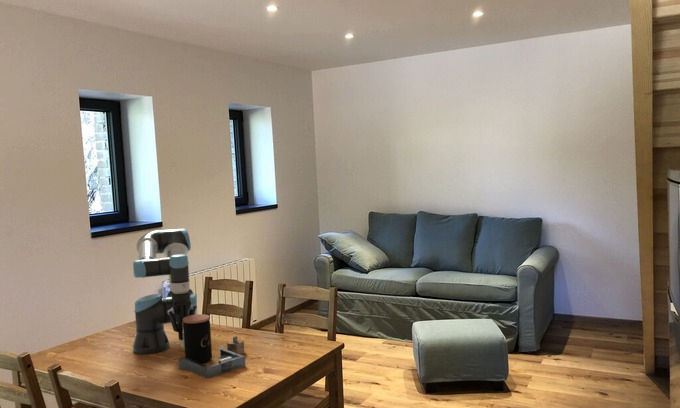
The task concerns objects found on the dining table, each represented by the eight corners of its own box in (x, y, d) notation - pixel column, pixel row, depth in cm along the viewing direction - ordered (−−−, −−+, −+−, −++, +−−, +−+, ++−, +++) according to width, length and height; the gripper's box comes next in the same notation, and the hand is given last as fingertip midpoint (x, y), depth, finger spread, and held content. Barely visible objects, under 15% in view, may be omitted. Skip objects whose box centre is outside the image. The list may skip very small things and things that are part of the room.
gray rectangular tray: (178, 368, 223) (177, 355, 222) (222, 355, 237) (222, 342, 237) (203, 380, 209) (202, 366, 209) (249, 364, 224) (248, 352, 224)
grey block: (227, 355, 237) (226, 337, 237) (234, 351, 242) (233, 334, 241) (237, 356, 235) (236, 338, 235) (244, 352, 240) (243, 335, 239)
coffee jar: (205, 365, 225) (202, 321, 224) (180, 365, 227) (178, 321, 226) (216, 356, 235) (214, 314, 234) (192, 356, 238) (190, 314, 236)
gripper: (170, 295, 230) (174, 352, 232) (199, 289, 240) (202, 344, 241) (162, 293, 236) (165, 349, 237) (190, 287, 245) (193, 341, 246)
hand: (184, 346), depth 239 cm, fingers closed
